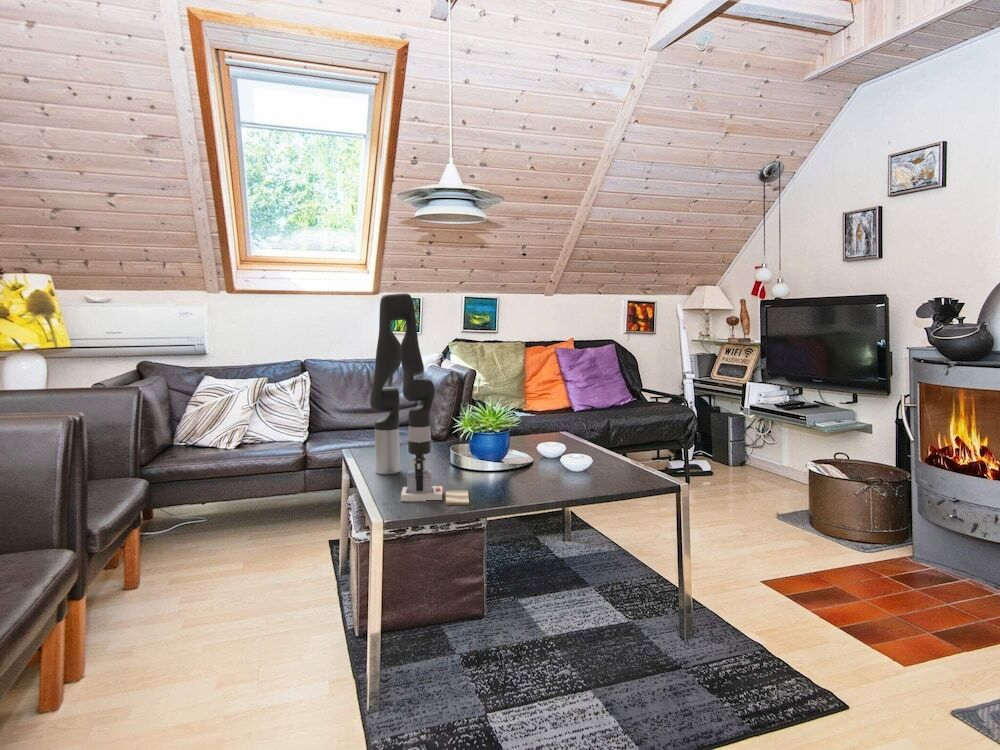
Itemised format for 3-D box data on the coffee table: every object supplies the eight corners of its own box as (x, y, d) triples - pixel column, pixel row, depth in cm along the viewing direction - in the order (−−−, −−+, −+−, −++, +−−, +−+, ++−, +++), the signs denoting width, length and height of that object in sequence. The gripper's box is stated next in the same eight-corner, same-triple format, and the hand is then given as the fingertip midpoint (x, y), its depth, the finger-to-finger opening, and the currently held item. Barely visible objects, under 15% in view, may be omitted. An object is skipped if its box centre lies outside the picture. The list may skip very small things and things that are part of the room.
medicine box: (432, 495, 221) (432, 470, 220) (431, 498, 216) (430, 473, 215) (409, 495, 221) (408, 470, 220) (407, 498, 216) (407, 473, 215)
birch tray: (445, 493, 223) (445, 490, 223) (467, 492, 224) (467, 490, 224) (445, 505, 209) (445, 502, 209) (469, 504, 210) (469, 502, 210)
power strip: (404, 486, 231) (404, 478, 231) (442, 485, 232) (442, 478, 232) (401, 501, 213) (400, 493, 213) (442, 500, 214) (442, 492, 214)
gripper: (409, 435, 223) (409, 483, 225) (406, 443, 209) (407, 494, 211) (431, 434, 224) (431, 482, 226) (430, 443, 210) (430, 494, 211)
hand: (419, 488), depth 218 cm, fingers closed on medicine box, 4 cm apart
